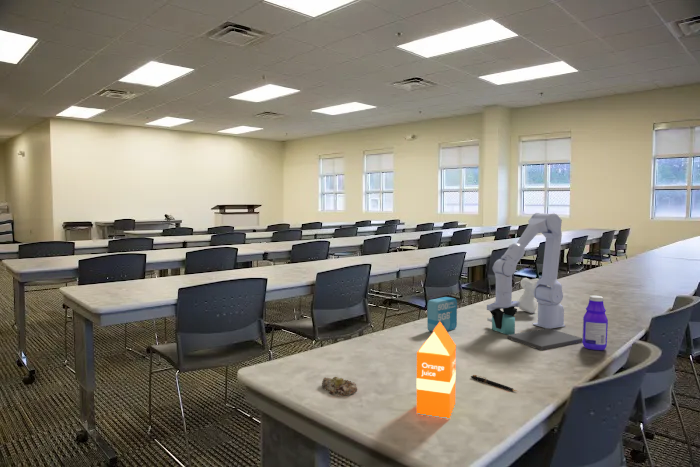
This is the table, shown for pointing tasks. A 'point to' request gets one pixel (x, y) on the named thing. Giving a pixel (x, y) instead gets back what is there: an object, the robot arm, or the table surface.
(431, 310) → the data package
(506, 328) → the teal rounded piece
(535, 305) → the white teddy bear
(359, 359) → the table surface
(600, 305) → the bottle
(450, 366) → the orange juice
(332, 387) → the mineral rock
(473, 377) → the fountain pen
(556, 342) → the rubber mat
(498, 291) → the robot arm
